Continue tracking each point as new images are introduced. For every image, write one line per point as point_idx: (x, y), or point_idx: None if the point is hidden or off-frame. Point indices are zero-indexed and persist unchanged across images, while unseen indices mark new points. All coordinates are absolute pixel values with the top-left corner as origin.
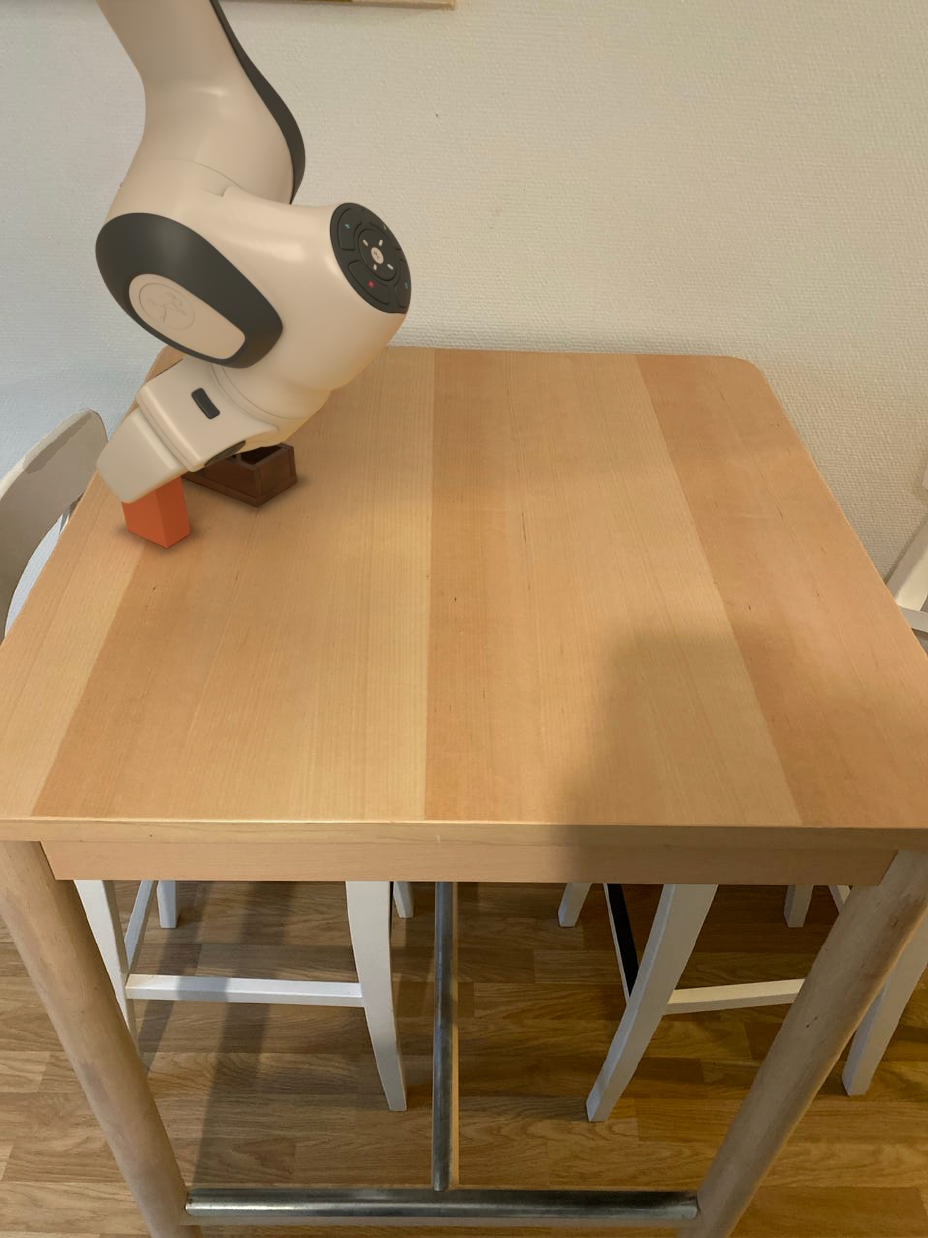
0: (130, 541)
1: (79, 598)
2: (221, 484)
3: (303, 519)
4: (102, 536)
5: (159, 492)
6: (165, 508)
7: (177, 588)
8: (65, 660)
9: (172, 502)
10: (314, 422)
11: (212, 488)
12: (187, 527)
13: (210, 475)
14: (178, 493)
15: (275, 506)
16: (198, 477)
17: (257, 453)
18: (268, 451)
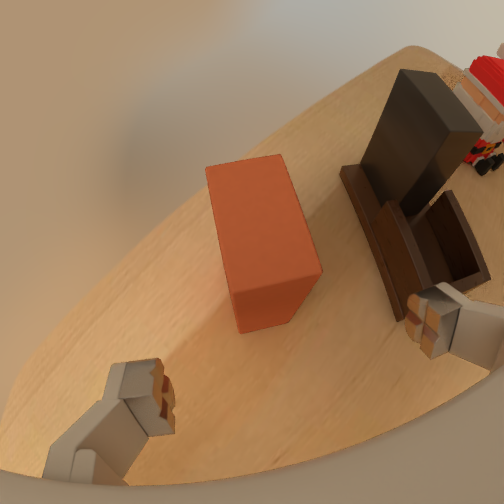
0: (211, 281)
1: (96, 349)
2: (380, 252)
3: (426, 385)
4: (190, 246)
5: (245, 313)
6: (251, 319)
7: (197, 427)
8: (42, 429)
9: (270, 314)
10: (500, 199)
11: (368, 240)
12: (285, 321)
13: (376, 230)
14: (288, 308)
15: None
16: (362, 214)
17: (446, 234)
18: (460, 250)
